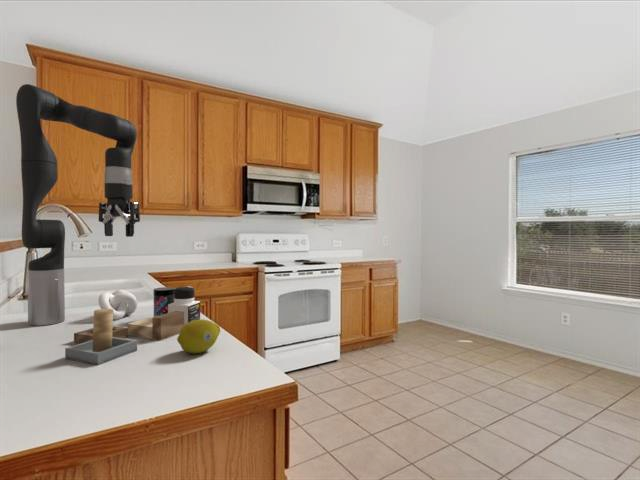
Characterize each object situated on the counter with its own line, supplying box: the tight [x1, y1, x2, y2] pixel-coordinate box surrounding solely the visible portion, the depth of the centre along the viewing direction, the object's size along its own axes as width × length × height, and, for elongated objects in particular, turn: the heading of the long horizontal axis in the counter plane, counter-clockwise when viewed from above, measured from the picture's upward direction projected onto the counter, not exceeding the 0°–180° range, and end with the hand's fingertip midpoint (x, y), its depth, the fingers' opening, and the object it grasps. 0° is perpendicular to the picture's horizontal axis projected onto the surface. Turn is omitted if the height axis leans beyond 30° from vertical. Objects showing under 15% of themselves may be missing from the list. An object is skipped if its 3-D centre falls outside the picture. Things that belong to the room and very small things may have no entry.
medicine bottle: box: [168, 286, 201, 325], centre depth 116 cm, size 7×7×12 cm
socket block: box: [73, 325, 129, 344], centre depth 100 cm, size 9×9×2 cm
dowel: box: [92, 308, 114, 352], centre depth 88 cm, size 4×4×10 cm
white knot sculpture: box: [97, 289, 138, 321], centre depth 126 cm, size 11×12×9 cm
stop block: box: [151, 311, 184, 341], centre depth 104 cm, size 3×9×6 cm, turn 159°
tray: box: [64, 337, 138, 366], centre depth 88 cm, size 11×11×2 cm
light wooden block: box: [126, 317, 154, 340], centre depth 107 cm, size 10×8×4 cm
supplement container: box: [152, 286, 176, 317], centre depth 123 cm, size 7×7×10 cm
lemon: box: [176, 319, 221, 355], centre depth 90 cm, size 11×8×8 cm
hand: (119, 236), depth 111 cm, fingers open, 8 cm apart
